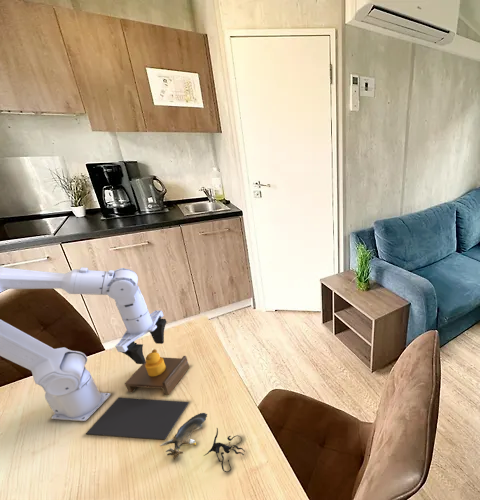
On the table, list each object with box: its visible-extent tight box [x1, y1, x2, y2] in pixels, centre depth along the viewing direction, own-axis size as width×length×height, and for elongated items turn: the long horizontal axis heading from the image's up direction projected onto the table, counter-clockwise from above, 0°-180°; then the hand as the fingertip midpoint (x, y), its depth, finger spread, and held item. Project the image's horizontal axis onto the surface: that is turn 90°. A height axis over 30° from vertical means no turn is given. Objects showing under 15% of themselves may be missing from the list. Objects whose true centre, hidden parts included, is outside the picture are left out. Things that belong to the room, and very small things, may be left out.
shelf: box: [124, 355, 190, 396], centre depth 84 cm, size 12×10×5 cm
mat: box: [85, 397, 189, 441], centre depth 73 cm, size 20×10×1 cm, turn 86°
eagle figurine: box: [159, 412, 208, 460], centre depth 67 cm, size 8×7×9 cm
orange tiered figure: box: [145, 349, 166, 376], centre depth 82 cm, size 4×4×7 cm
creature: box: [203, 427, 246, 473], centre depth 64 cm, size 8×5×8 cm
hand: (150, 352), depth 80 cm, fingers open, 7 cm apart
